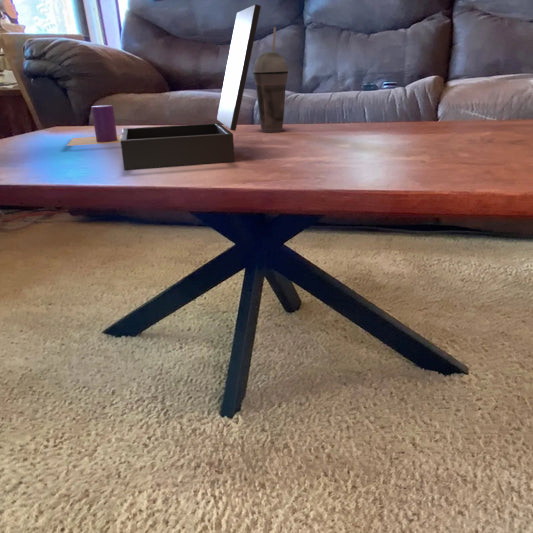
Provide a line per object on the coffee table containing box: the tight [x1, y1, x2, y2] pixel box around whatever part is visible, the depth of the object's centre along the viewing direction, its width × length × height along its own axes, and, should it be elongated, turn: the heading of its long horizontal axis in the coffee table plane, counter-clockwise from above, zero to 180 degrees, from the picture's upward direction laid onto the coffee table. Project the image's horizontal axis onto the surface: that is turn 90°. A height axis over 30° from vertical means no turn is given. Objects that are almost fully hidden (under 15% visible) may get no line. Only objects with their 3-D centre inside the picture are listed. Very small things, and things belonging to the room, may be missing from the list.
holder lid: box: [216, 3, 262, 132], centre depth 76 cm, size 16×14×1 cm
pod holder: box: [120, 122, 235, 171], centre depth 78 cm, size 16×14×5 cm
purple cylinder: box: [90, 104, 118, 142], centre depth 99 cm, size 4×4×6 cm
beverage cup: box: [252, 26, 289, 133], centre depth 105 cm, size 7×7×20 cm
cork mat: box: [66, 134, 122, 147], centre depth 100 cm, size 14×14×1 cm
